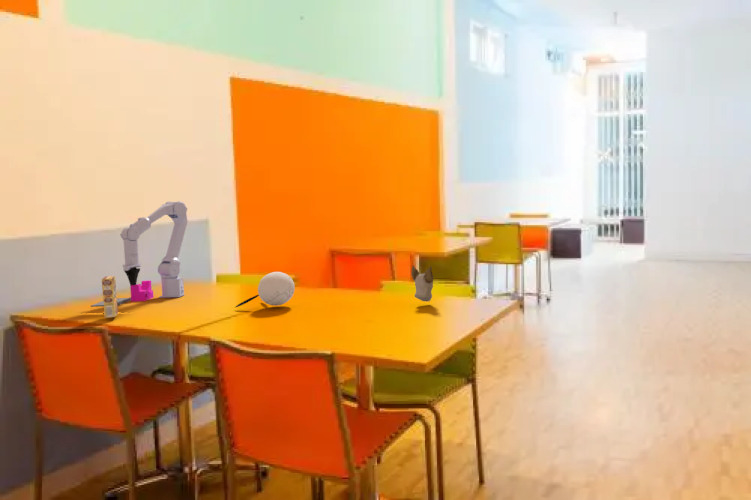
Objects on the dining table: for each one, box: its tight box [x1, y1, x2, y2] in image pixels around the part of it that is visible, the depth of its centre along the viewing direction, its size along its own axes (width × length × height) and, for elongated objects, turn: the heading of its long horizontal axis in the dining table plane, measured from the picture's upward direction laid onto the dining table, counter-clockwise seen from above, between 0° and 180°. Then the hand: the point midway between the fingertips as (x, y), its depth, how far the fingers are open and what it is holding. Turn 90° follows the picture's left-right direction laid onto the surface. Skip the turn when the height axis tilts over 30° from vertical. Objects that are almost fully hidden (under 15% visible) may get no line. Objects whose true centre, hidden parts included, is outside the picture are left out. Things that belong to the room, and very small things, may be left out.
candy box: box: [101, 275, 119, 319], centre depth 282 cm, size 9×4×15 cm, turn 13°
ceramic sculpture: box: [410, 265, 434, 302], centre depth 289 cm, size 11×9×15 cm
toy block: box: [129, 280, 154, 302], centre depth 327 cm, size 15×6×8 cm, turn 176°
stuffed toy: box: [235, 271, 295, 308], centre depth 295 cm, size 19×14×25 cm
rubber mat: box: [90, 296, 131, 307], centre depth 318 cm, size 11×20×1 cm, turn 177°
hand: (133, 285), depth 317 cm, fingers closed
